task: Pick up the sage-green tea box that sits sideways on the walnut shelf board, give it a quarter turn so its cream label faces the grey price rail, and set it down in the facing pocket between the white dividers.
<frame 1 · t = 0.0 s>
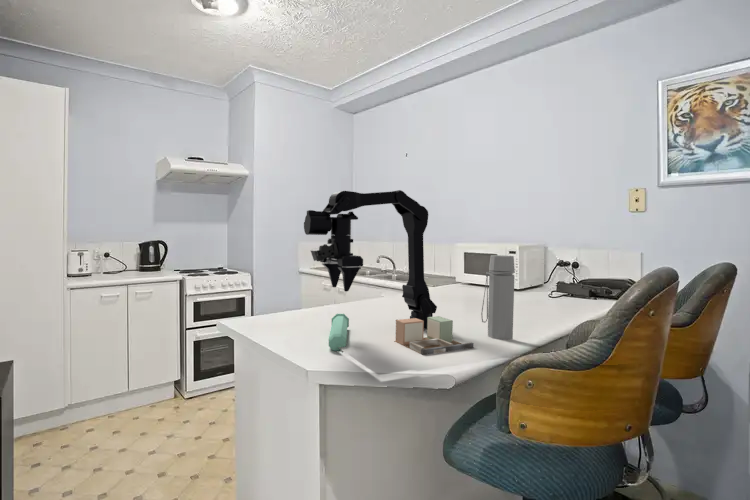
hand: (340, 289, 122), 15 cm above the counter, fingers open, 9 cm apart
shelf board: (432, 348, 114), on the counter
container: (338, 341, 122), on the counter
tea box: (439, 339, 119), point 1 cm above the counter, touching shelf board
rust box: (409, 341, 116), point 1 cm above the counter, touching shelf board
water bottle: (496, 340, 125), on the counter
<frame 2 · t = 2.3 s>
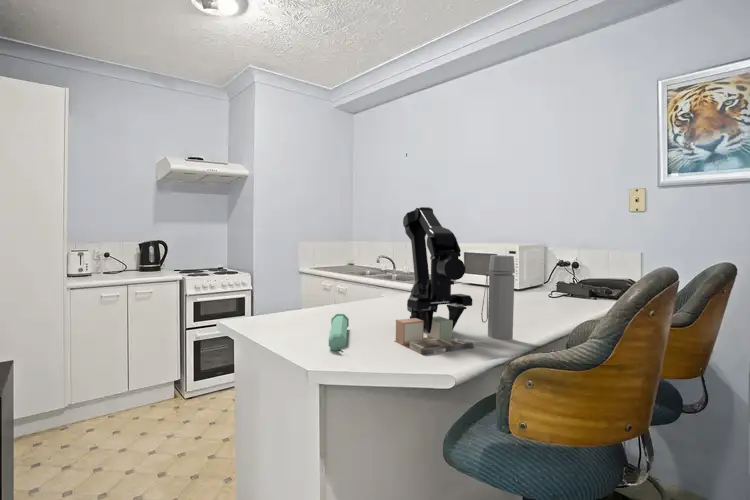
hand: (439, 331, 119), 4 cm above the counter, fingers open, 7 cm apart
rust box: (409, 341, 116), point 1 cm above the counter, touching gripper, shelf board
everything else where it was.
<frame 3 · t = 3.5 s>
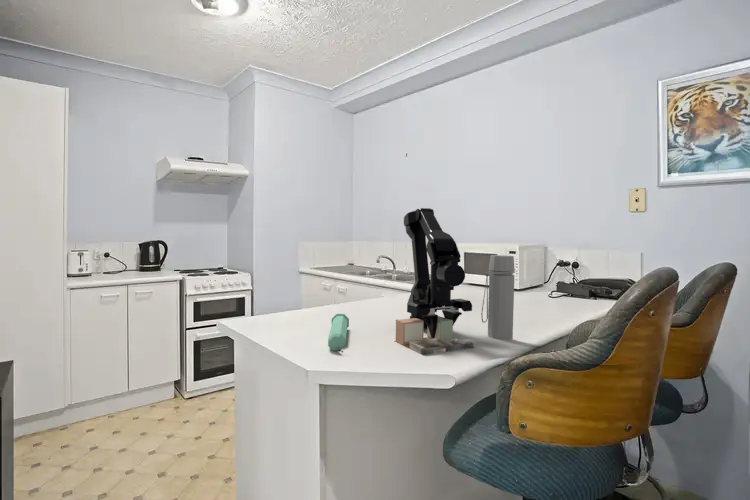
hand: (439, 337, 119), 2 cm above the counter, fingers closed on tea box, 4 cm apart
tea box: (439, 339, 119), point 1 cm above the counter, touching gripper, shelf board
rust box: (409, 341, 116), point 1 cm above the counter, touching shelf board
everything else where it was.
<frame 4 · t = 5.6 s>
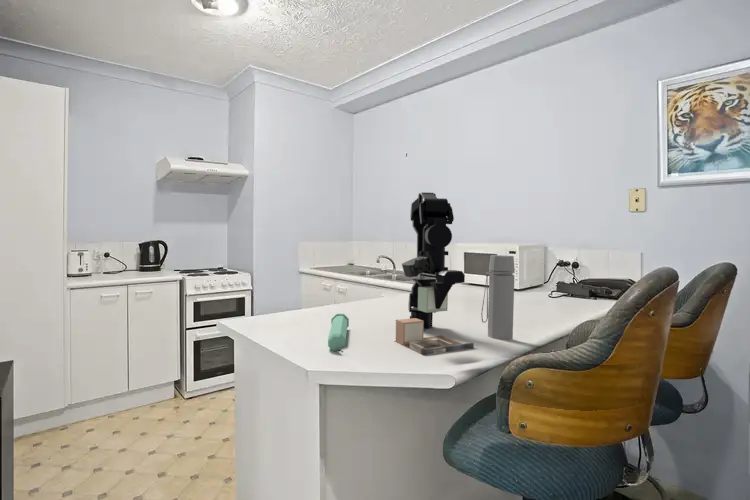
hand: (432, 307, 109), 12 cm above the counter, fingers closed on tea box, 4 cm apart
tea box: (432, 310, 109), point 11 cm above the counter, touching gripper
everything else where it was.
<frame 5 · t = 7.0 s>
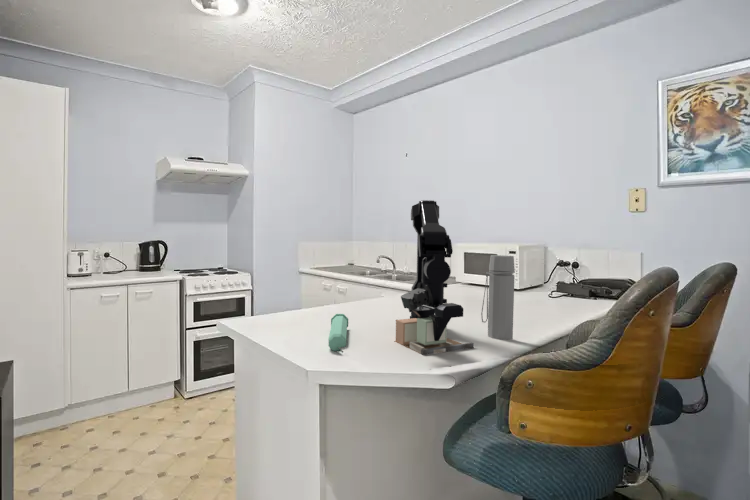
hand: (431, 338, 109), 4 cm above the counter, fingers closed on tea box, 4 cm apart
tea box: (431, 341, 109), point 3 cm above the counter, touching gripper
everything else where it was.
when the fingers open (3 cm above the counter, at t = 7.9 s): tea box stays where it is, resting on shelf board.
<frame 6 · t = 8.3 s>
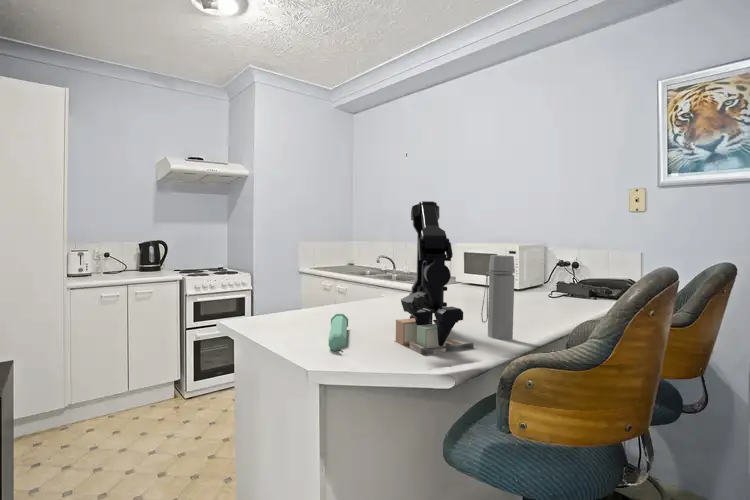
hand: (431, 342, 109), 3 cm above the counter, fingers open, 8 cm apart
tea box: (431, 348, 110), point 1 cm above the counter, touching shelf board
rust box: (409, 341, 116), point 1 cm above the counter, touching gripper, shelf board
everything else where it was.
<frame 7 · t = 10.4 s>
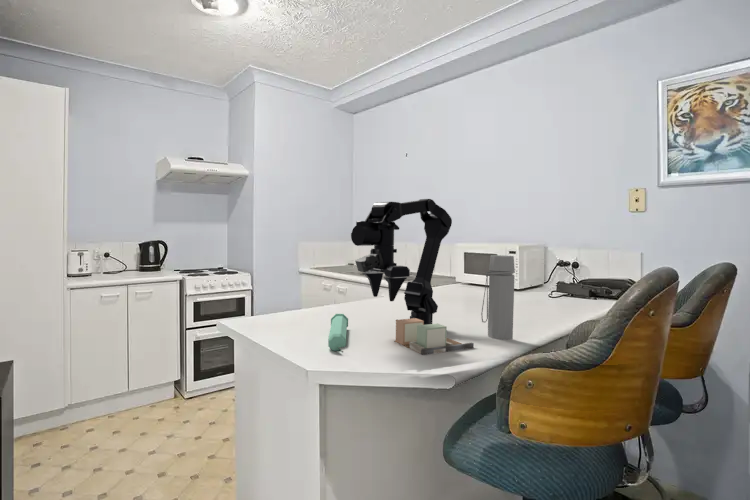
hand: (383, 298, 123), 12 cm above the counter, fingers open, 9 cm apart
rust box: (409, 341, 116), point 1 cm above the counter, touching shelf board
everything else where it was.
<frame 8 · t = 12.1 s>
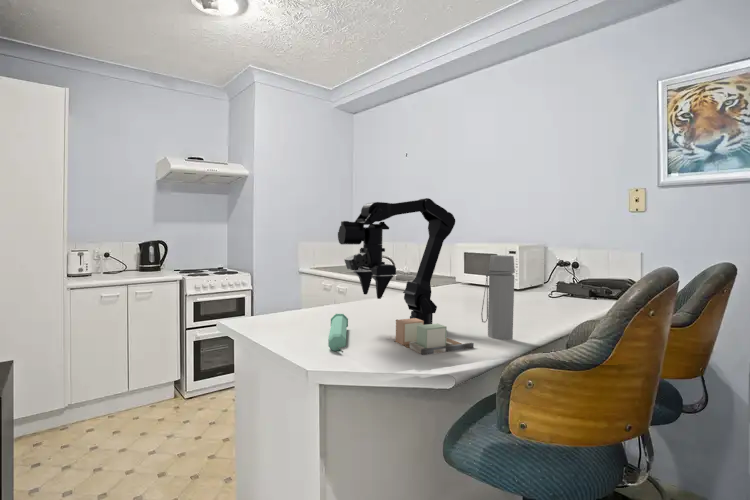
hand: (372, 296, 127), 12 cm above the counter, fingers open, 9 cm apart
nothing on the counter moved.
at the end: tea box 0.1 cm from the target spot, point 1.2 cm above the counter; tea box tilted 0°; the gripper is holding nothing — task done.
